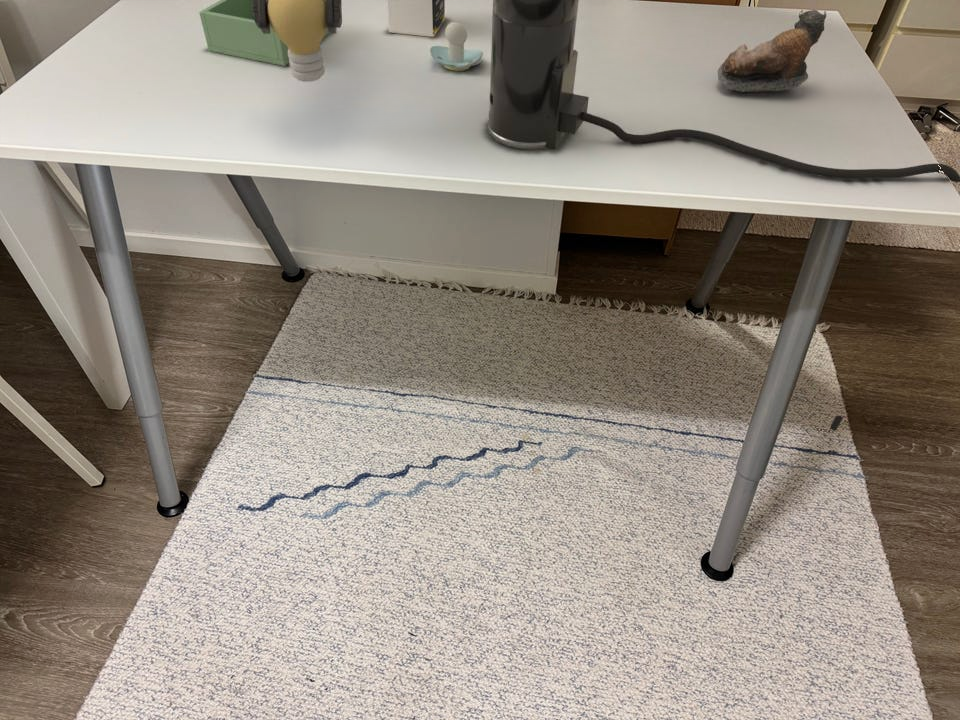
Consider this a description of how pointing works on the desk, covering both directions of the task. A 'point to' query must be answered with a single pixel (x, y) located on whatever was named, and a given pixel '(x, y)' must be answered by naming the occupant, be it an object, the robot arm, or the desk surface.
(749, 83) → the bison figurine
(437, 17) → the white box
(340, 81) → the desk surface
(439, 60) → the pacifier
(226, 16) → the green open-top box
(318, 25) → the light bulb
